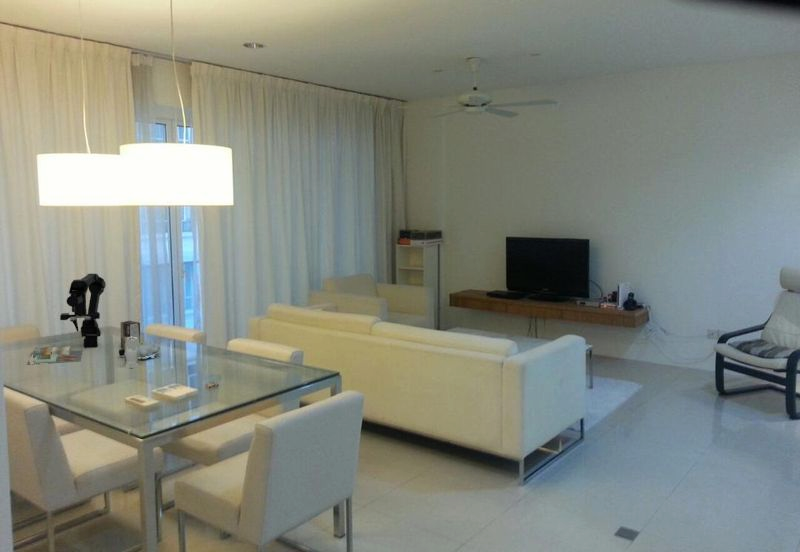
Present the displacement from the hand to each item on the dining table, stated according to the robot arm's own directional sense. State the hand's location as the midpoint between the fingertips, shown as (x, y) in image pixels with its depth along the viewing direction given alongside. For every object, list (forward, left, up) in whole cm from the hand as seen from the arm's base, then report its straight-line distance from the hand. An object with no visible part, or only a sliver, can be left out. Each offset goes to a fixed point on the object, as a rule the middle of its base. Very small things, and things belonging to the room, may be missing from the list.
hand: (80, 331), depth 329 cm
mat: (+11, +6, -12) cm, 18 cm away
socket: (+5, +12, -12) cm, 18 cm away
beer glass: (-25, +34, -12) cm, 44 cm away
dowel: (+15, +12, -11) cm, 22 cm away
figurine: (-29, +16, -12) cm, 35 cm away
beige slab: (+9, 0, -12) cm, 15 cm away
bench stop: (+20, 0, -12) cm, 24 cm away
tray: (+15, +12, -12) cm, 23 cm away
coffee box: (-25, 0, -12) cm, 27 cm away
